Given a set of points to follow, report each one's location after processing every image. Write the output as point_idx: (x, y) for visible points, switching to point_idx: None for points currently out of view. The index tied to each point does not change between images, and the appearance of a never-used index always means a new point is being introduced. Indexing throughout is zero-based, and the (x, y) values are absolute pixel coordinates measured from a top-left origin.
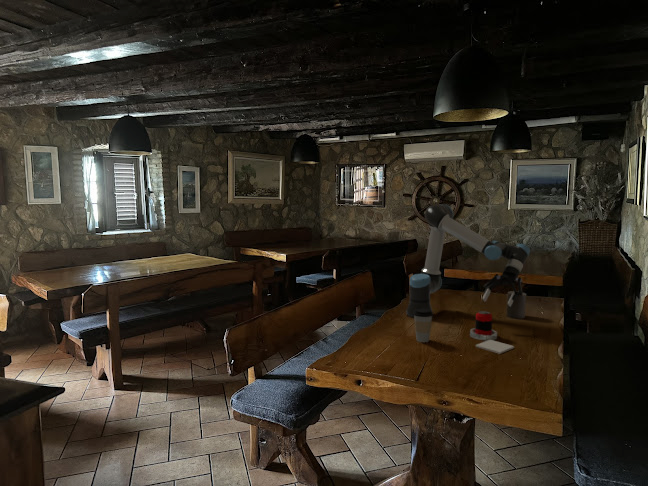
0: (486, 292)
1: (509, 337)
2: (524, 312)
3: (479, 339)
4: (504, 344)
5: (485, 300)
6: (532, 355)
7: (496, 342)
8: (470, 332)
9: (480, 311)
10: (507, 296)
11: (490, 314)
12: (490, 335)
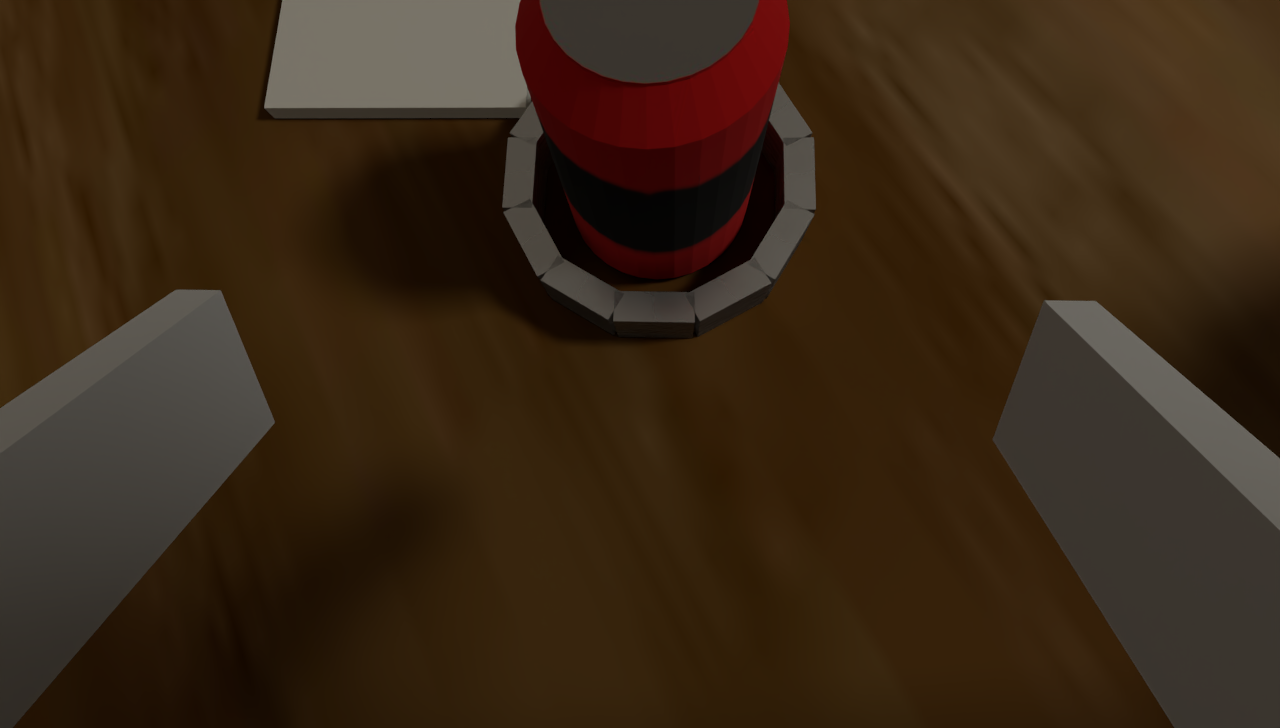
0: (1249, 484)
1: (439, 382)
2: None
3: None
4: (352, 83)
5: (1008, 423)
6: (88, 69)
7: (435, 77)
8: None
9: (741, 4)
10: None
11: (537, 29)
12: (527, 109)
